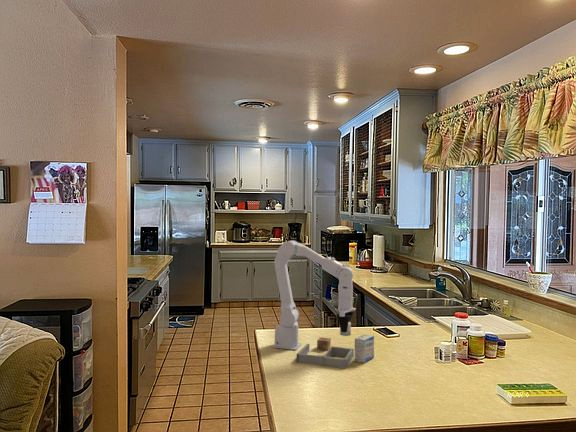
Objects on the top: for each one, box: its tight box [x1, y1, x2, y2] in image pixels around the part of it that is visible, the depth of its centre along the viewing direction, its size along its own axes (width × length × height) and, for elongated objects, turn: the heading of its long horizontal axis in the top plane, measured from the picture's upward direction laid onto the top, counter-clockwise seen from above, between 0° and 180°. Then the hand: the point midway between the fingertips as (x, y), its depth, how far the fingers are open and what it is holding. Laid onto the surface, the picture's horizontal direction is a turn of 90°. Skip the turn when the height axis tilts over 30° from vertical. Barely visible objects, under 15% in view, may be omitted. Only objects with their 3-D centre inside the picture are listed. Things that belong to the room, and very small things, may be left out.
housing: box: [296, 343, 355, 369], centre depth 174 cm, size 19×14×3 cm
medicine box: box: [354, 333, 375, 364], centre depth 175 cm, size 8×4×9 cm, turn 143°
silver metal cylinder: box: [339, 321, 352, 337], centre depth 184 cm, size 4×4×5 cm
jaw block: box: [316, 337, 332, 352], centre depth 188 cm, size 4×4×4 cm
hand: (345, 330), depth 184 cm, fingers closed on silver metal cylinder, 4 cm apart
